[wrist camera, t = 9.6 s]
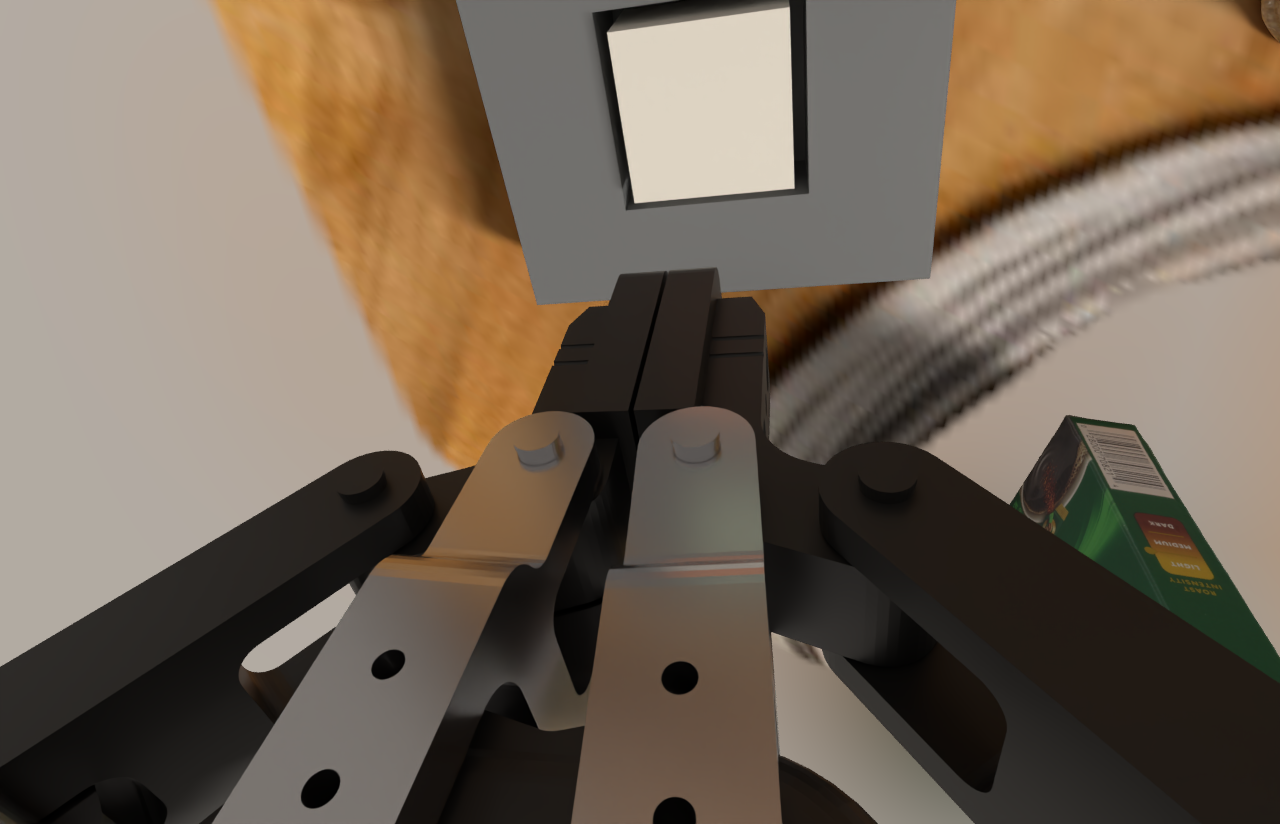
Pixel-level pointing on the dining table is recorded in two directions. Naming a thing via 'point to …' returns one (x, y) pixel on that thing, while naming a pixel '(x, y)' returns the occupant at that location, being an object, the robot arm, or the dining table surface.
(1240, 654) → the coffee box
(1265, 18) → the sprinkles bottle
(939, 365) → the dining table surface
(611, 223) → the button panel
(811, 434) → the dining table surface
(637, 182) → the button cream
